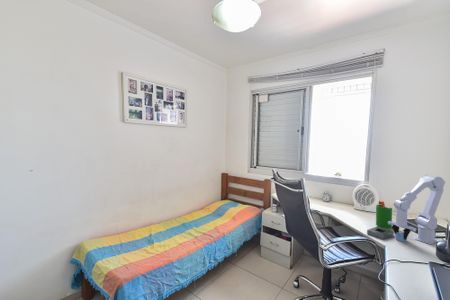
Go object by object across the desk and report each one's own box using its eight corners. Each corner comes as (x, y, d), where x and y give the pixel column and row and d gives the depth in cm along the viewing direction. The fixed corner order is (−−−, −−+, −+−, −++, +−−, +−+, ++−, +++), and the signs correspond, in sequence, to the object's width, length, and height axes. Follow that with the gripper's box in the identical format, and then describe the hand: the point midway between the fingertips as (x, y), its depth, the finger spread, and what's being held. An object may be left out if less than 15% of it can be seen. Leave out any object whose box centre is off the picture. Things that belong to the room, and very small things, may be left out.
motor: (394, 227, 154) (394, 202, 154) (387, 229, 151) (387, 203, 151) (380, 222, 164) (380, 198, 164) (373, 224, 161) (373, 200, 160)
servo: (400, 237, 137) (400, 229, 137) (407, 240, 134) (407, 231, 134) (395, 240, 134) (395, 231, 134) (402, 242, 131) (402, 233, 130)
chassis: (377, 230, 150) (377, 226, 150) (393, 235, 141) (393, 231, 141) (367, 233, 144) (367, 229, 143) (383, 239, 135) (383, 235, 135)
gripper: (385, 215, 138) (385, 235, 138) (412, 222, 125) (412, 244, 125) (390, 214, 141) (390, 232, 142) (417, 220, 128) (417, 241, 129)
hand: (401, 238), depth 134 cm, fingers closed on servo, 4 cm apart
